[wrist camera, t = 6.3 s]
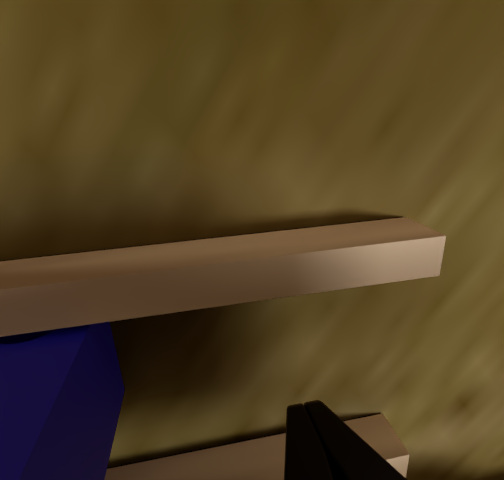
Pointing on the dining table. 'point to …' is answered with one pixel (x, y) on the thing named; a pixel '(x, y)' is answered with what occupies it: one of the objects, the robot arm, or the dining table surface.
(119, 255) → the guide track
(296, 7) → the dining table surface
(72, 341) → the blue cradle block
